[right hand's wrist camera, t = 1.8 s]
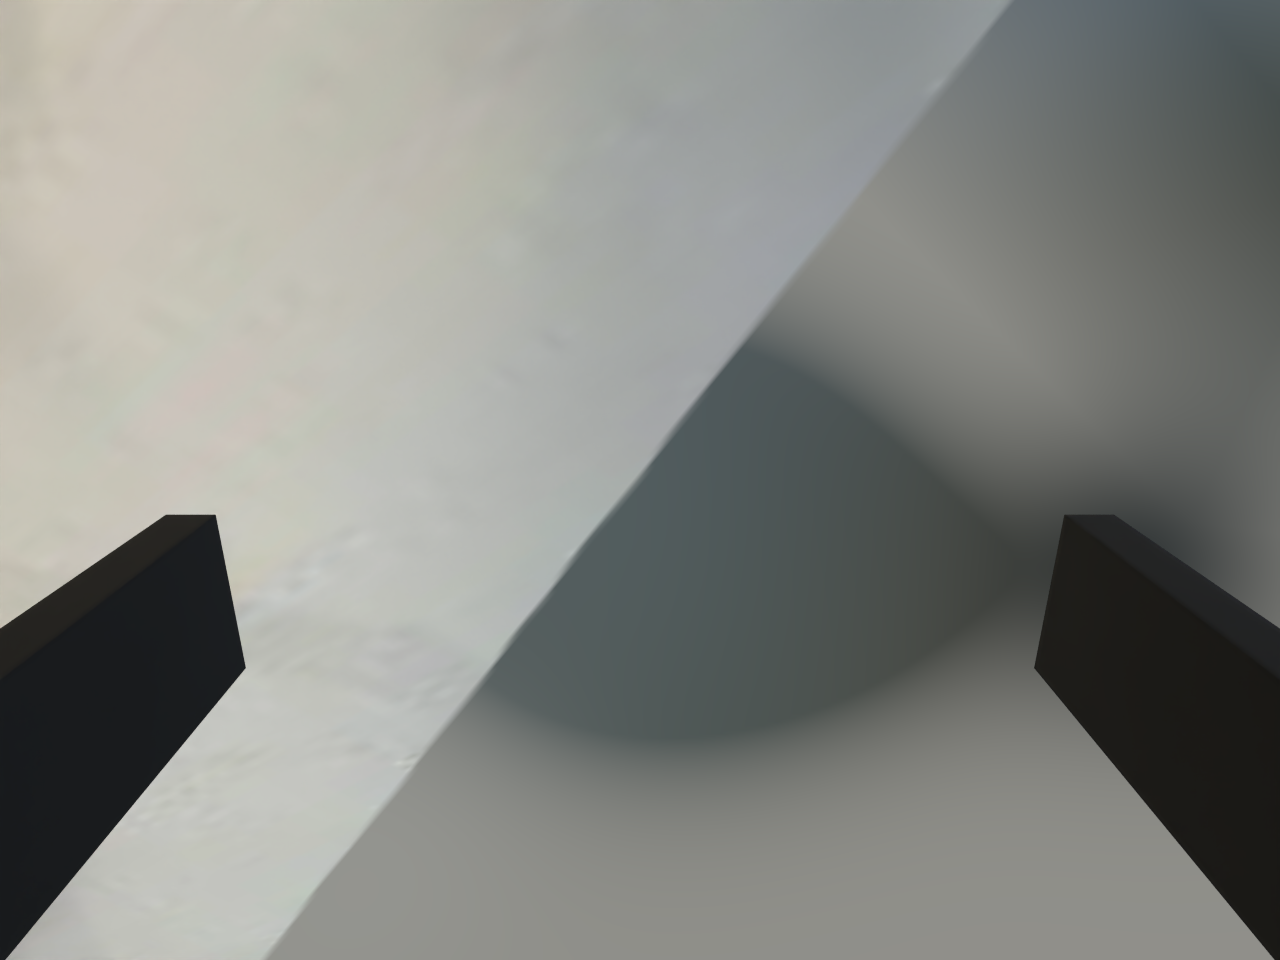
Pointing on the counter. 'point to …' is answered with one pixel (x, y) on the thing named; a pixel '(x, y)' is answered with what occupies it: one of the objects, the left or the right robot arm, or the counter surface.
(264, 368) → the counter surface
